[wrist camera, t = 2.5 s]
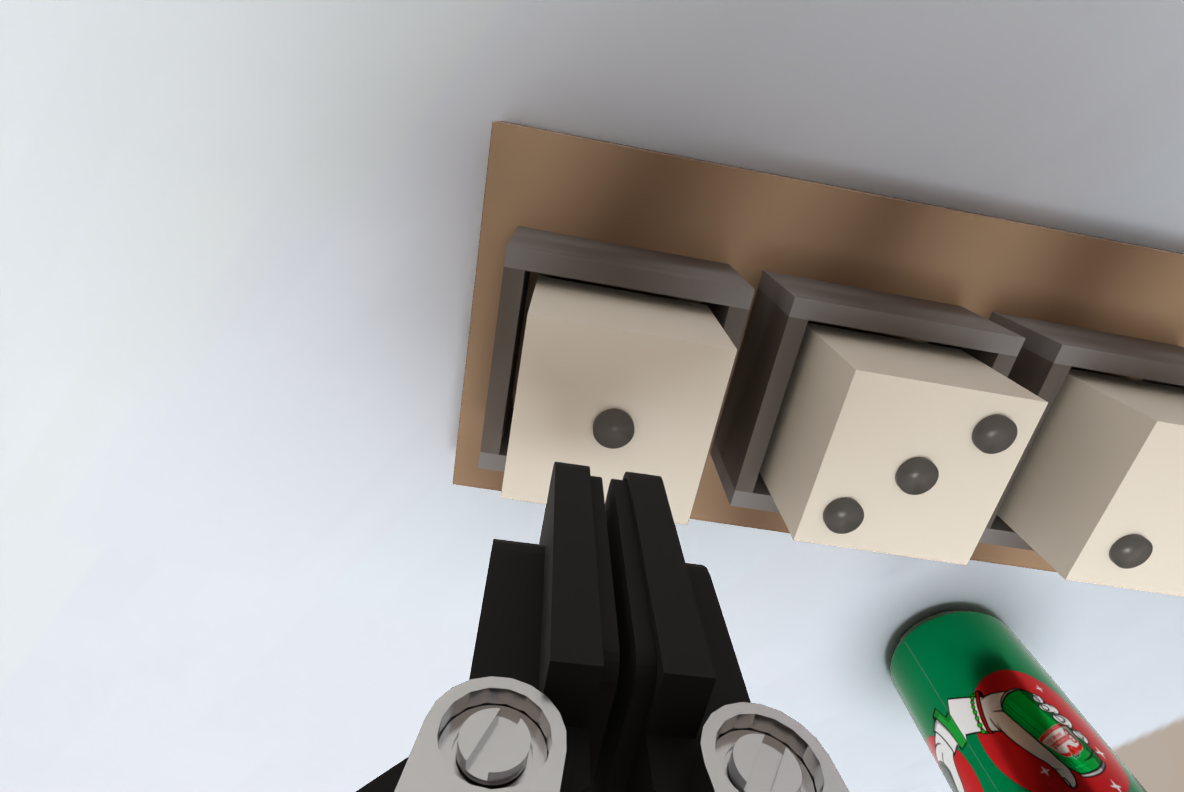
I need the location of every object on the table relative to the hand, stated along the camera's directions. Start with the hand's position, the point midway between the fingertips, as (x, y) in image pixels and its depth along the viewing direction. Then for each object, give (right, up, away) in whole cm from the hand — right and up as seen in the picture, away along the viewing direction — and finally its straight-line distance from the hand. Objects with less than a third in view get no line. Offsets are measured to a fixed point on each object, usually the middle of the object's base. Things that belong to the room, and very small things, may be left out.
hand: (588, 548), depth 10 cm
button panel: (+7, +4, +11) cm, 14 cm away
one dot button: (0, +3, +7) cm, 8 cm away
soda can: (+15, -8, +17) cm, 24 cm away
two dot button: (+14, +1, +8) cm, 16 cm away
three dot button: (+7, +2, +8) cm, 11 cm away
